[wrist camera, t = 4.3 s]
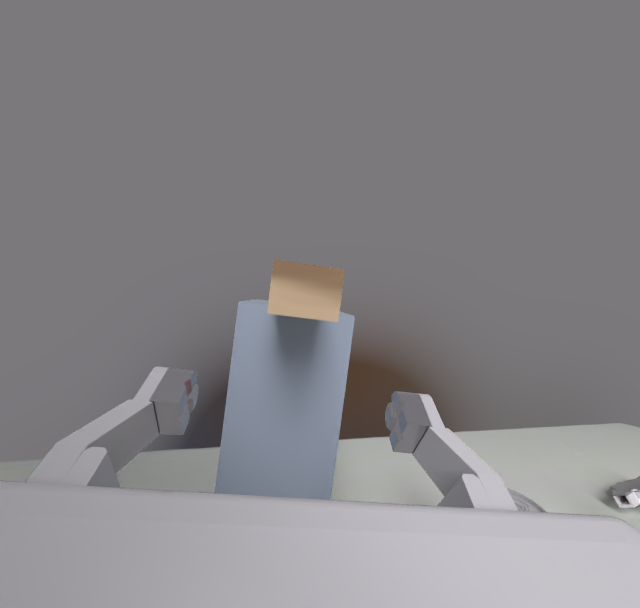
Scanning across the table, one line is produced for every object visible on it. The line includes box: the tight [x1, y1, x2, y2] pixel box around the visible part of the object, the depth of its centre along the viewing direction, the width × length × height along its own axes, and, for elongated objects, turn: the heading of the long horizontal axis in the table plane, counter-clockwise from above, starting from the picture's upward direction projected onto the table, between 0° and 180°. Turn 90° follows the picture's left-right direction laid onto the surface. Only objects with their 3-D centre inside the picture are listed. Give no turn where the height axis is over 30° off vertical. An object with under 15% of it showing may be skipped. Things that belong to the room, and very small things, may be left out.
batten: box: [267, 260, 345, 322], centre depth 28 cm, size 24×4×3 cm, turn 6°
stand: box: [215, 299, 355, 500], centre depth 31 cm, size 12×10×26 cm
